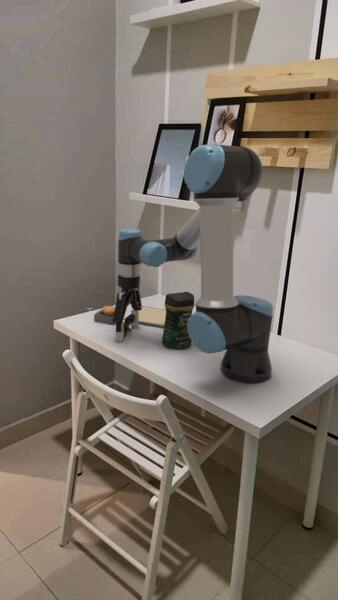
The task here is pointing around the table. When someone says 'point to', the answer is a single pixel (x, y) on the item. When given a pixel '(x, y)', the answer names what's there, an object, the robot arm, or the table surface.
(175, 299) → the coffee jar
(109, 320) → the button housing
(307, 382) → the table surface
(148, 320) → the board
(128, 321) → the eagle figurine
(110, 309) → the button
